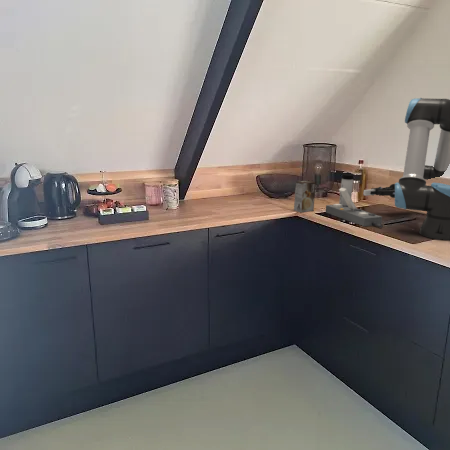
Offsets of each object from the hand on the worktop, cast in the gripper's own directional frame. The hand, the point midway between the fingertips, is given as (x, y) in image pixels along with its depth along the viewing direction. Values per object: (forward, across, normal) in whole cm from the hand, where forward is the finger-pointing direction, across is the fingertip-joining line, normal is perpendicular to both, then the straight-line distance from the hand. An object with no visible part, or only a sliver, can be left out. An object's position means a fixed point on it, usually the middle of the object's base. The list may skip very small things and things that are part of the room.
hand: (364, 192), depth 218 cm
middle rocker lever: (+6, 0, -8) cm, 10 cm away
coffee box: (+21, +22, -13) cm, 33 cm away
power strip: (+6, -3, -13) cm, 15 cm away
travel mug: (-7, +22, -13) cm, 27 cm away
